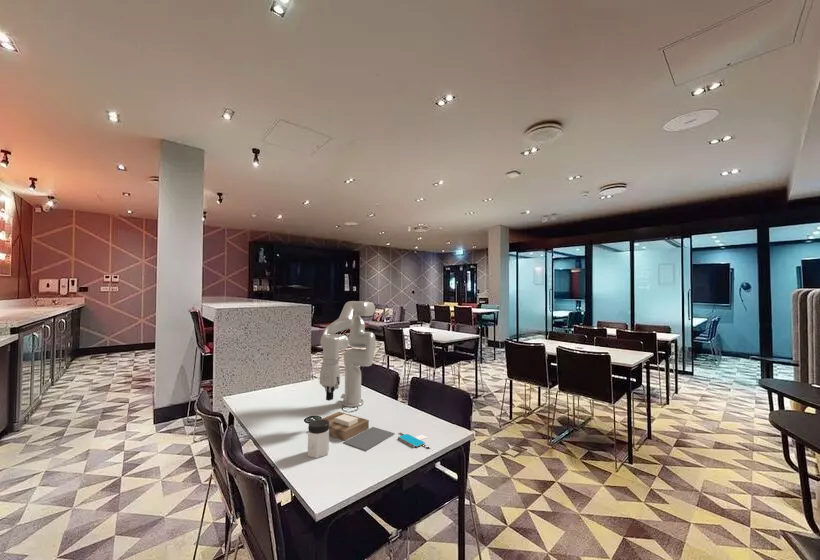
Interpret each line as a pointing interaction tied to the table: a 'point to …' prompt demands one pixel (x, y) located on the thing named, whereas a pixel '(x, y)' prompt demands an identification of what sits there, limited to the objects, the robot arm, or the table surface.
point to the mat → (368, 438)
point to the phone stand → (412, 440)
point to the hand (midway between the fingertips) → (329, 399)
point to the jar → (318, 438)
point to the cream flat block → (346, 420)
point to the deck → (345, 427)
